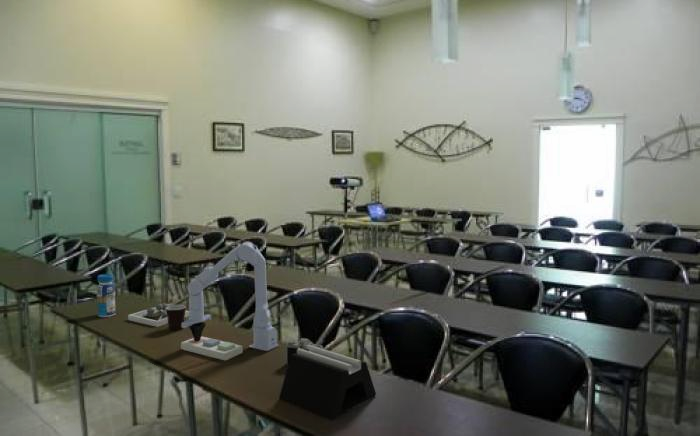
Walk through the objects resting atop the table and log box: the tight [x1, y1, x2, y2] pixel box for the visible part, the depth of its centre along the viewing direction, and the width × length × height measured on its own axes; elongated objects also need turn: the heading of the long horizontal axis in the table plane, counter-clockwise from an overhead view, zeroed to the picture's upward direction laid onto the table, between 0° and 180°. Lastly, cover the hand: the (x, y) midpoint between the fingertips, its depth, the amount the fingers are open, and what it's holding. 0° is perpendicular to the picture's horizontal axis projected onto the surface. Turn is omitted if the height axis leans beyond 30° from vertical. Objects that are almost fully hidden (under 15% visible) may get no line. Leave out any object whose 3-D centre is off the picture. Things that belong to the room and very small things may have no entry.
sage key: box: [218, 341, 236, 351], centre depth 218 cm, size 5×5×2 cm
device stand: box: [278, 345, 377, 421], centre depth 179 cm, size 22×22×15 cm
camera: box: [285, 337, 325, 366], centre depth 208 cm, size 15×7×10 cm, turn 73°
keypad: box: [180, 335, 244, 361], centre depth 222 cm, size 24×10×3 cm, turn 60°
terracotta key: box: [189, 339, 206, 344], centre depth 226 cm, size 5×5×2 cm
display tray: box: [127, 306, 189, 328], centre depth 266 cm, size 20×20×2 cm
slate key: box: [203, 337, 221, 347], centre depth 222 cm, size 5×5×2 cm
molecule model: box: [143, 302, 173, 321], centre depth 268 cm, size 15×9×11 cm
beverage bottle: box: [96, 273, 117, 318], centre depth 270 cm, size 8×8×20 cm
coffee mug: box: [166, 304, 187, 332], centre depth 251 cm, size 12×9×10 cm
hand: (197, 340), depth 226 cm, fingers closed, pressing on terracotta key
